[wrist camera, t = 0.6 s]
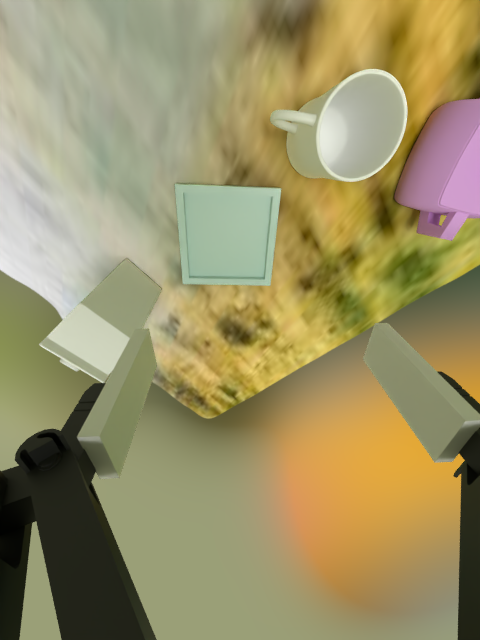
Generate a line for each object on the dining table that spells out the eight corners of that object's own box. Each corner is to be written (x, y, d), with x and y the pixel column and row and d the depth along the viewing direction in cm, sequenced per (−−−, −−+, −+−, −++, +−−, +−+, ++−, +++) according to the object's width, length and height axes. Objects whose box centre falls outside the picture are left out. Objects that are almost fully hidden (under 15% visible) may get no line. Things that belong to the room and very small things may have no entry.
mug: (253, 156, 33) (265, 154, 23) (277, 72, 29) (306, 23, 19) (332, 187, 36) (374, 197, 25) (365, 113, 32) (432, 90, 21)
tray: (176, 183, 34) (174, 184, 33) (278, 187, 35) (281, 188, 34) (184, 279, 42) (182, 283, 40) (268, 281, 43) (270, 285, 41)
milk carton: (126, 257, 39) (59, 323, 23) (162, 288, 42) (124, 366, 26) (100, 285, 42) (20, 363, 26) (135, 313, 45) (85, 398, 29)
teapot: (447, 61, 29) (540, 19, 21) (522, 85, 31) (638, 55, 22) (375, 222, 39) (419, 239, 30) (436, 234, 40) (494, 254, 31)
